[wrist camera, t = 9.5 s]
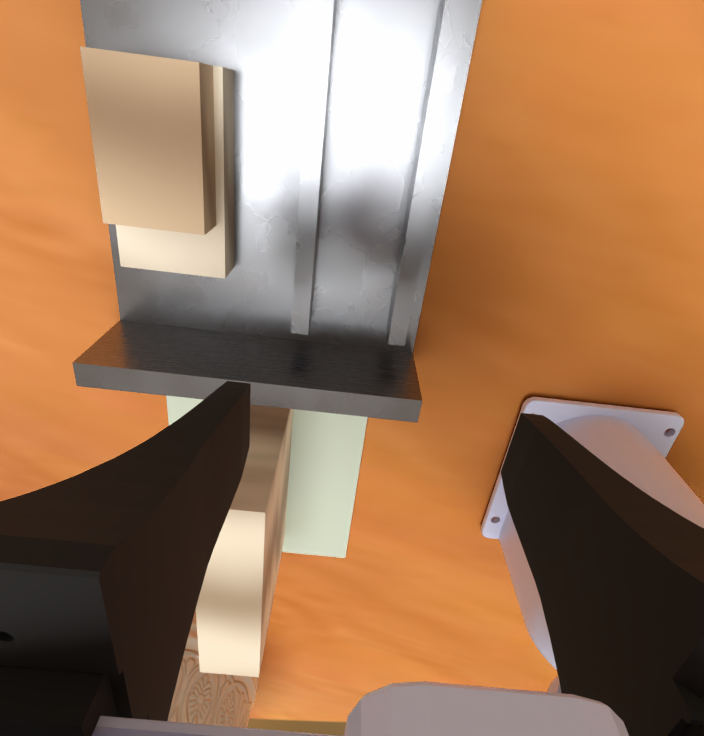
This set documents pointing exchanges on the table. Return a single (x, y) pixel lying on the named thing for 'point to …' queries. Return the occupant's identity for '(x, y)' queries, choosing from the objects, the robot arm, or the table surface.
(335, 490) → the mat
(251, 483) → the wooden block
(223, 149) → the offcut lower
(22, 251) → the table surface
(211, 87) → the offcut upper
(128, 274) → the rack
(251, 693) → the jar
